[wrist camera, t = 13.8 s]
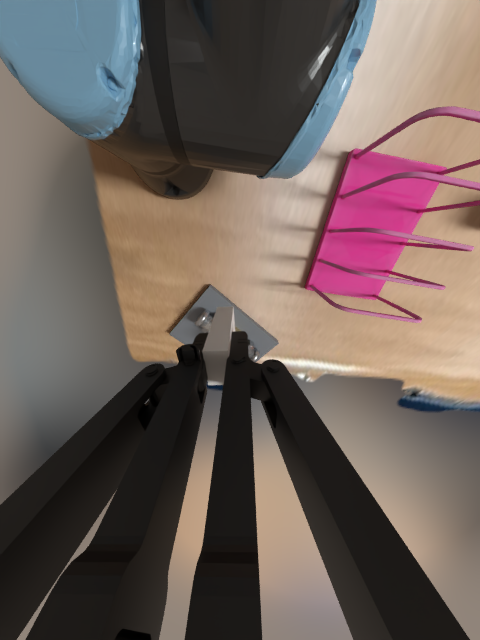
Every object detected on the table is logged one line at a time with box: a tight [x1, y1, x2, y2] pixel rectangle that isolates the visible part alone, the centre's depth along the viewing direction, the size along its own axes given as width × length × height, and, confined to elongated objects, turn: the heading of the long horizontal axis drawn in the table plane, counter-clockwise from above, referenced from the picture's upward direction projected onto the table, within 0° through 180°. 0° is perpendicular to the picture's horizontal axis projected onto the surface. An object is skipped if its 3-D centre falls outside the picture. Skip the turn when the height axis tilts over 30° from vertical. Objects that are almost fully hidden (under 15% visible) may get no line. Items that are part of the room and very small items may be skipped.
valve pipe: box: [194, 309, 260, 362], centre depth 44 cm, size 18×6×6 cm, turn 48°
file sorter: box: [305, 107, 480, 323], centre depth 30 cm, size 17×25×16 cm
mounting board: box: [170, 285, 279, 361], centre depth 47 cm, size 24×18×2 cm
